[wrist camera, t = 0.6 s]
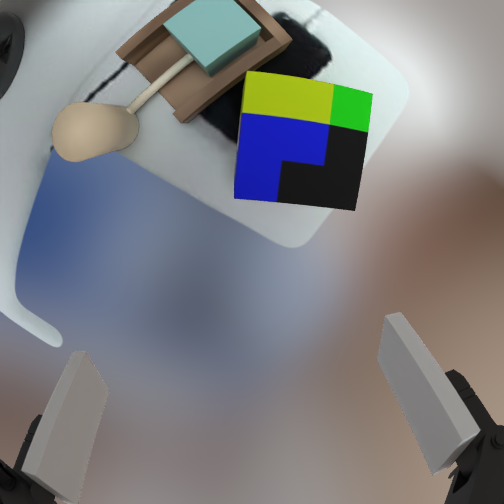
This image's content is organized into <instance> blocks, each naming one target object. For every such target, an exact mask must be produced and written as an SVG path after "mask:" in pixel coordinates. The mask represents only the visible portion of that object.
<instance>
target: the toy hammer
mask: <svg viewBox="0 0 504 504" xmlns="http://www.w3.org/2000/svg"><path fill="white" fill-rule="evenodd" d="M163 25H164V26H165V27H166V29H167V30H168V31H169V33H170V34H171V36H172V37H173V38H174V40H175V41H176V42H177V43H178V44H179V45H180V46H181V47H182V48H183V49H184V50H185V51H186V52H187V53H188V54H186V55H185V56H184V57H183V58H181V59H180V60H179V61H178V62H176V63H175V64H174V65H173V66H172V67H170V68H169V69H168V70H167V71H166V72H165V73H163V74H162V75H161V76H160V77H159V78H158V79H157V80H155V81H154V82H153V83H152V84H151V85H150V86H149V87H148V88H147V89H146V90H145V91H143V92H142V93H141V94H140V95H139V96H138V97H137V98H136V99H135V100H134V101H133V102H132V103H131V104H130V105H129V106H128V107H124V106H117V105H108V104H97V103H86V102H76V103H72V104H70V105H68V106H66V107H65V108H64V109H63V110H62V111H61V112H60V113H59V114H58V116H57V118H56V120H55V122H54V125H53V129H52V141H53V145H54V148H55V150H56V151H57V153H58V154H59V155H60V156H61V157H62V158H63V159H65V160H67V161H71V162H79V161H83V160H86V159H89V158H92V157H96V156H99V155H102V154H106V153H109V152H113V151H117V150H120V149H124V148H126V147H128V146H129V145H130V144H132V142H133V141H134V140H135V138H136V136H137V134H138V130H139V122H138V118H137V116H136V114H135V113H134V112H135V111H136V110H137V109H139V108H140V107H141V106H142V105H143V104H144V103H145V102H146V101H147V100H148V99H149V98H150V97H151V96H152V95H153V94H155V93H156V92H157V91H158V90H159V89H160V88H161V87H162V86H163V85H165V84H166V83H167V82H168V81H169V80H170V79H172V78H173V77H174V76H175V75H176V74H177V73H179V72H180V71H181V70H182V69H183V68H185V67H186V66H187V65H188V64H190V63H191V62H192V61H193V60H195V61H196V62H197V64H198V65H199V66H200V67H201V68H202V69H203V70H204V71H205V72H206V73H207V74H208V75H209V76H210V77H212V76H213V75H215V74H216V73H217V72H219V71H220V70H221V69H223V68H224V67H225V66H227V65H228V64H229V63H231V62H232V61H233V60H235V59H236V58H238V57H239V56H240V55H242V54H243V53H245V52H246V51H247V50H249V49H250V48H252V47H253V46H255V45H256V44H257V40H258V37H259V33H260V30H261V27H260V26H259V25H258V24H257V23H256V22H255V21H254V20H253V19H252V18H251V17H250V16H249V15H248V14H247V13H246V12H245V11H244V10H243V9H242V8H241V7H240V6H239V5H238V4H237V3H236V2H235V1H234V0H195V1H194V2H192V3H191V4H189V5H188V6H187V7H185V8H184V9H182V10H181V11H180V12H178V13H177V14H176V15H174V16H173V17H172V18H170V19H169V20H168V21H166V22H165V23H164V24H163Z"/></svg>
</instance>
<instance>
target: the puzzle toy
mask: <svg viewBox="0 0 504 504" xmlns="http://www.w3.org/2000/svg"><path fill="white" fill-rule="evenodd" d="M372 96H373V94H372V93H368V92H364V91H361V90H357V89H353V88H348V87H344V86H340V85H335V84H331V83H326V82H321V81H316V80H310V79H305V78H299V77H293V76H286V75H279V74H271V73H263V72H254V71H247V73H246V77H245V81H244V86H243V93H242V103H241V112H240V122H239V131H238V142H237V152H236V162H235V173H234V199H246V200H258V201H269V202H280V203H290V204H299V205H309V206H318V207H327V208H335V209H343V210H352V211H355V208H356V203H357V198H358V192H359V187H360V181H361V175H362V169H363V163H364V157H365V150H366V144H367V137H368V129H369V122H370V114H371V105H372Z"/></svg>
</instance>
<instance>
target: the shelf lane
mask: <svg viewBox="0 0 504 504" xmlns="http://www.w3.org/2000/svg"><path fill="white" fill-rule="evenodd" d="M194 1H195V0H178V1H176V2H175V3H174V4H172V5H171V6H169V7H168V8H167V9H165V10H164V11H163V12H162V13H160V14H159V15H158V16H156V17H155V18H154V19H153V20H151V21H150V22H149V23H148V24H146V25H145V26H144V27H143V28H142V29H140V30H139V31H138V32H137V33H136V34H135V35H134V36H132V37H131V38H130V39H129V40H128V41H127V42H126V43H125V44H123V45H122V46H121V47H120V48H119V49H118V50H117V51H116V52H115V53H116V54H117V55H118V56H119V57H120V58H121V59H122V60H124V61H126V62H128V63H130V64H132V65H134V66H135V67H136V68H137V69H138V70H139V71H140V72H141V73H142V74H143V76H144V77H145V78H146V79H147V80H148V81H149V82H150V83H151V84H152V83H153V82H154V81H155V80H157V79H158V78H159V77H160V76H161V75H162V74H163V73H165V72H166V71H167V70H168V69H169V68H170V67H172V66H173V65H174V64H175V63H176V62H178V61H179V60H180V59H181V58H183V57H184V56H185V55H186V54H188V53H187V52H186V51H185V50H184V49H183V48H182V47H181V46H180V45H179V44H178V43H177V42H176V41H175V40H174V38H173V37H172V36H171V34H170V33H169V31H168V30H167V29H166V27H165V26H164V25H163V24H164V23H165V22H166V21H168V20H169V19H170V18H172V17H173V16H174V15H176V14H177V13H178V12H180V11H181V10H182V9H184V8H185V7H187V6H188V5H189V4H191V3H192V2H194ZM234 1H235V2H236V3H237V4H238V5H239V6H240V7H241V8H242V9H243V10H244V11H245V12H246V13H247V14H248V15H249V16H250V17H251V18H252V19H253V20H254V21H255V22H256V23H257V24H258V25H259V26H260V27H261V30H260V33H259V37H258V40H257V44H256V45H255V46H253V47H252V48H250V49H249V50H247V51H246V52H245V53H243V54H242V55H240V56H239V57H238V58H236V59H235V60H233V61H232V62H231V63H229V64H228V65H227V66H225V67H224V68H223V69H221V70H220V71H219V72H217V73H216V74H215V75H213V76H212V77H210V76H209V75H208V74H207V73H206V72H205V71H204V70H203V69H202V68H201V67H200V66H199V65H198V64H197V62H196V61H195V60H193V61H192V62H191V63H190V64H188V65H187V66H186V67H185V68H183V69H182V70H181V71H180V72H179V73H177V74H176V75H175V76H174V77H173V78H172V79H170V80H169V81H168V82H167V83H166V84H165V85H163V86H162V87H161V88H160V89H159V90H158V92H159V93H160V94H161V95H162V96H163V97H164V98H165V99H166V100H167V101H168V103H169V104H170V105H171V106H172V107H173V108H174V109H175V110H176V111H175V112H174V113H173V115H174V116H175V117H176V118H177V119H178V121H179V122H180V123H189V122H190V121H191V120H192V119H193V118H195V117H196V116H197V115H198V114H199V113H200V112H202V111H203V110H204V109H205V108H206V107H208V106H209V105H210V104H211V103H213V102H214V101H215V100H216V99H218V98H219V97H220V96H221V95H223V94H224V93H225V92H227V91H228V90H229V89H230V88H232V87H233V86H234V85H236V84H237V83H238V82H240V81H241V80H242V79H244V78H245V77H246V73H247V71H255V70H256V69H258V68H259V67H260V66H262V65H263V64H265V63H266V62H268V61H269V60H271V59H272V58H274V57H275V56H277V55H278V54H280V53H281V52H283V51H284V50H285V49H286V48H287V46H288V45H289V44H290V42H291V41H292V40H293V39H292V38H291V37H290V36H289V35H288V34H287V33H286V32H285V30H284V29H283V28H282V27H281V26H280V25H279V24H278V23H277V22H276V21H275V20H274V19H273V18H272V17H271V16H270V15H269V14H268V13H267V12H266V11H265V10H264V9H263V8H262V7H261V6H260V5H259V4H258V3H257V2H256V1H255V0H234Z"/></svg>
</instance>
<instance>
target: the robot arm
mask: <svg viewBox="0 0 504 504" xmlns="http://www.w3.org/2000/svg"><path fill="white" fill-rule="evenodd" d="M23 47H24V29H23V25H22V23H21V21H20V19H19V18H18V17H17V16H15V15H13V14H10V13H7V12H2V11H0V98H1V97H2V96H3V94H4V93H5V92H6V90H7V89H8V87H9V85H10V84H11V82H12V80H13V78H14V76H15V74H16V71H17V69H18V66H19V63H20V60H21V56H22V52H23ZM377 361H378V363H379V365H380V367H381V369H382V371H383V373H384V375H385V377H386V379H387V381H388V382H389V385H390V387H391V389H392V391H393V392H394V394H395V397H396V398H397V401H398V403H399V405H400V407H401V409H402V411H403V413H404V415H405V417H406V419H407V421H408V423H409V425H410V427H411V429H412V432H413V433H414V435H415V437H416V440H417V442H418V444H419V446H420V449H421V451H422V453H423V455H424V458H425V460H426V462H427V464H428V466H429V469H430V471H431V473H432V475H434V474H437V473H439V472H441V471H443V470H445V469H447V468H449V467H450V466H451V465H452V464H453V463H454V462H455V461H456V463H457V465H458V466H457V467H456V468H455V469H454V470H453V471H452V472H451V473H450V475H449V477H448V478H451V477H452V476H453V475H454V477H453V480H452V484H451V486H450V490H449V492H448V495H447V498H446V501H445V503H444V504H504V426H502V425H497V424H496V423H495V422H494V421H493V419H492V418H491V417H490V415H489V413H488V412H487V410H486V408H485V407H484V405H483V404H482V402H481V401H480V399H479V398H478V396H477V395H475V392H474V390H473V389H472V388H470V385H469V383H468V382H467V381H466V379H465V378H464V376H462V375H461V374H460V373H458V372H457V371H455V370H454V369H453V370H451V371H448V372H446V373H444V372H443V370H442V369H441V367H440V366H439V365H438V363H437V362H436V360H435V359H434V357H433V356H432V354H431V353H430V352H429V350H428V349H427V347H426V346H425V345H424V343H423V342H422V341H421V339H420V338H419V336H418V335H417V333H416V332H415V331H414V329H413V328H412V327H411V325H410V324H409V323H408V321H407V320H406V319H405V317H404V316H403V315H402V313H401V312H398V313H394V314H389V315H386V316H385V320H384V326H383V332H382V337H381V343H380V348H379V353H378V358H377ZM108 394H109V389H108V388H107V386H106V384H105V383H104V381H103V380H102V378H101V376H100V375H99V373H98V371H97V369H96V368H95V366H94V364H93V363H92V361H91V359H90V357H89V355H88V353H87V352H86V351H73V353H72V355H71V357H70V359H69V361H68V363H67V365H66V367H65V369H64V371H63V373H62V375H61V377H60V379H59V381H58V383H57V385H56V387H55V389H54V391H53V394H52V396H51V398H50V400H49V402H48V405H47V407H46V409H45V411H44V414H43V415H38V416H37V417H36V418H35V419H34V421H33V422H32V423H31V426H30V428H29V430H28V434H27V435H26V437H25V442H23V445H22V447H21V450H20V452H19V455H18V457H17V460H16V463H15V466H14V468H13V469H11V468H10V467H9V466H8V465H7V464H5V463H4V462H3V461H2V460H0V504H57V503H56V502H55V501H54V499H55V496H56V497H57V498H59V499H60V500H62V501H63V502H67V503H70V504H79V499H80V495H81V490H82V486H83V482H84V478H85V474H86V470H87V466H88V462H89V458H90V454H91V451H92V447H93V443H94V440H95V436H96V433H97V430H98V426H99V423H100V419H101V416H102V413H103V410H104V407H105V404H106V400H107V397H108Z"/></svg>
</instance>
